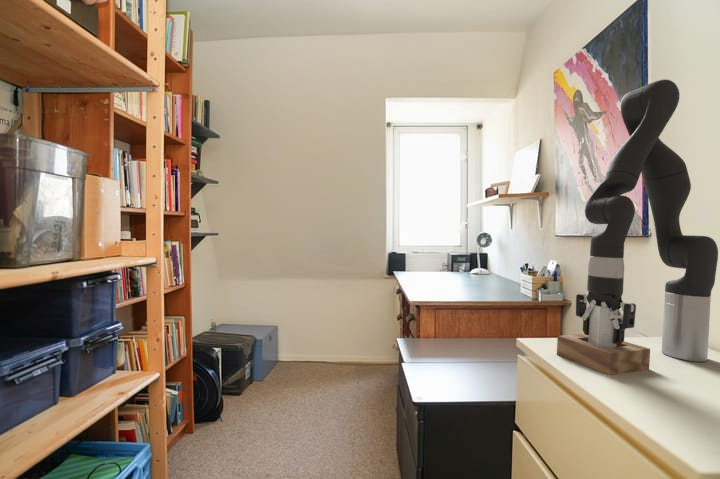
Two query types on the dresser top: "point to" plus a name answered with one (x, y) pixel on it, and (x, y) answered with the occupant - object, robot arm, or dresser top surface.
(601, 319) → the skincare box
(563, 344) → the socket block
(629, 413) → the dresser top surface
